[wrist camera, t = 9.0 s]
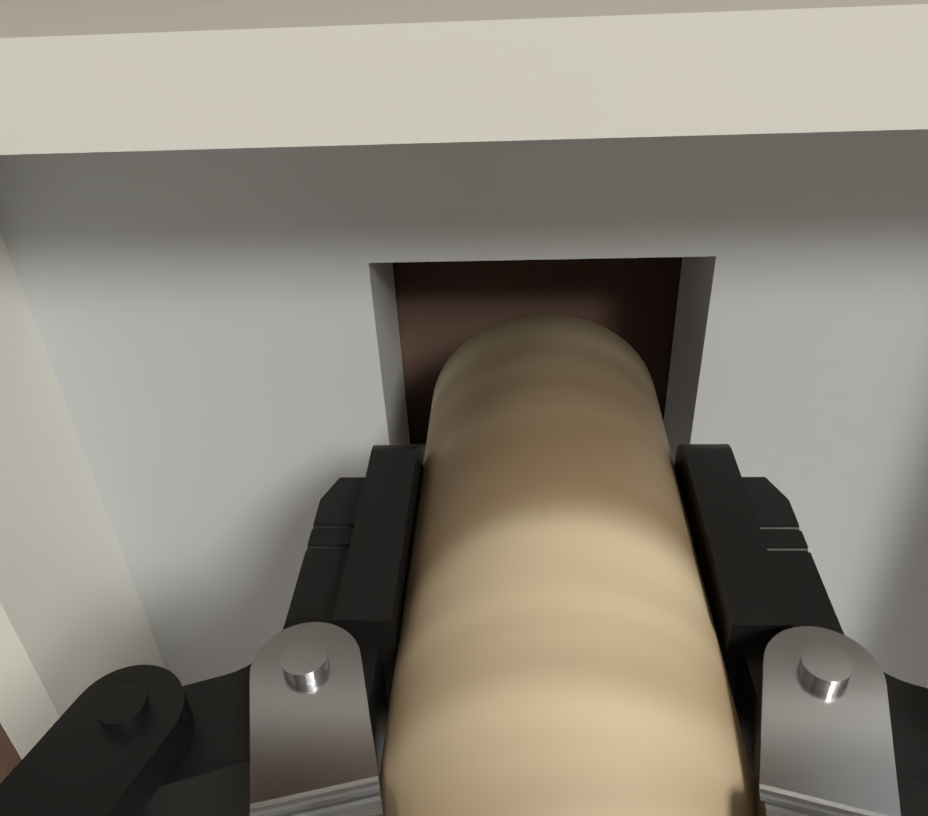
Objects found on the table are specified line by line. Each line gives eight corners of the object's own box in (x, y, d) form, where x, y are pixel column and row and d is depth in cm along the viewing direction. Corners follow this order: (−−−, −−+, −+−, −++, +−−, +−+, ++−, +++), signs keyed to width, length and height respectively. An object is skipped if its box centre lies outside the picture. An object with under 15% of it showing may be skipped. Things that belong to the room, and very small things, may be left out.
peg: (424, 315, 14) (299, 1001, 6) (666, 311, 14) (891, 1023, 6) (438, 497, 16) (362, 1176, 8) (646, 497, 16) (787, 1197, 8)
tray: (-70, -29, 14) (-392, 52, 9) (1205, -82, 13) (1653, -24, 8) (198, 715, 25) (122, 932, 20) (883, 726, 24) (980, 959, 19)
